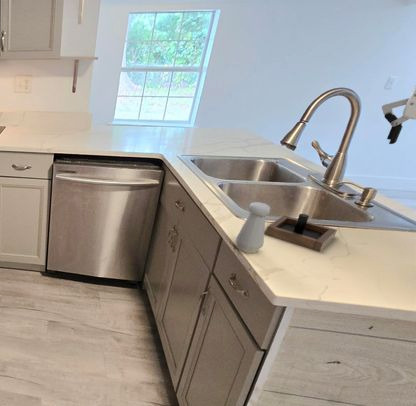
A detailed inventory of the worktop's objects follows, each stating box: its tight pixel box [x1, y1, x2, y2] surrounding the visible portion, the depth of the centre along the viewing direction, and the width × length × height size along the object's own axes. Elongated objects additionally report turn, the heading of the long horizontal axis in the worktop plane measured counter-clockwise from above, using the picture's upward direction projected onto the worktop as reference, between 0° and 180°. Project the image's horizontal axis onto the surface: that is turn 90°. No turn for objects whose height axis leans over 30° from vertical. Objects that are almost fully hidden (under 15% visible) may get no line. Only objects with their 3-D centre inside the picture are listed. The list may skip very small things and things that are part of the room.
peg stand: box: [280, 213, 321, 240], centre depth 101 cm, size 8×8×6 cm
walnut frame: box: [264, 215, 338, 252], centre depth 101 cm, size 12×12×2 cm
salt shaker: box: [235, 201, 271, 254], centre depth 93 cm, size 6×6×13 cm
